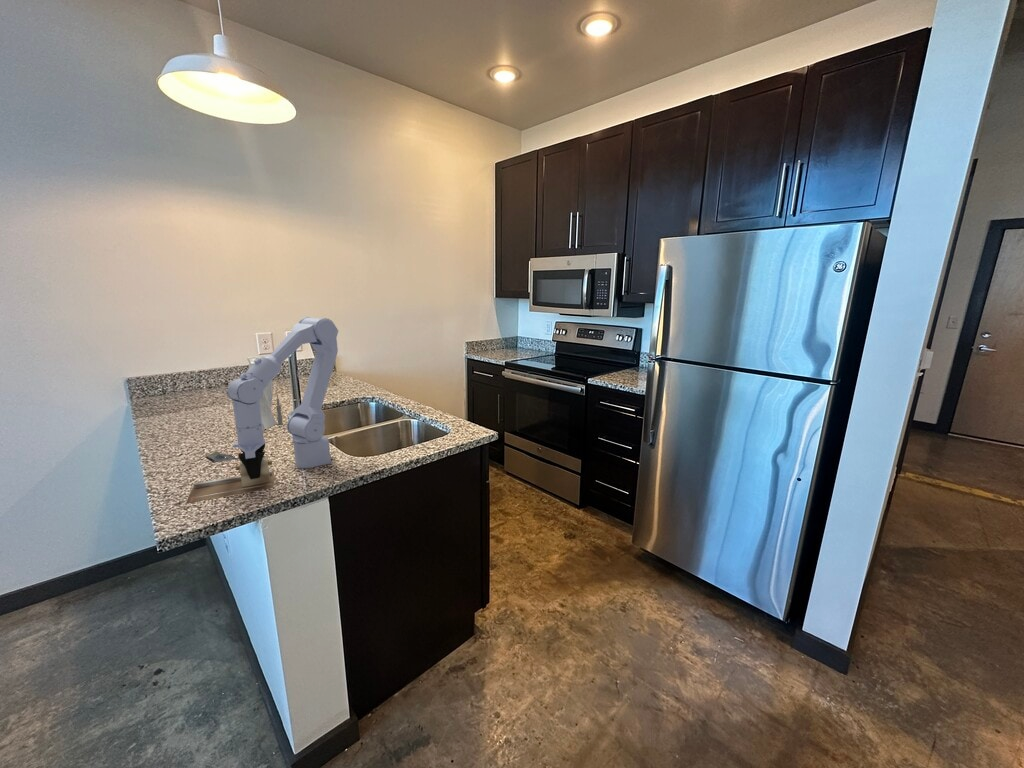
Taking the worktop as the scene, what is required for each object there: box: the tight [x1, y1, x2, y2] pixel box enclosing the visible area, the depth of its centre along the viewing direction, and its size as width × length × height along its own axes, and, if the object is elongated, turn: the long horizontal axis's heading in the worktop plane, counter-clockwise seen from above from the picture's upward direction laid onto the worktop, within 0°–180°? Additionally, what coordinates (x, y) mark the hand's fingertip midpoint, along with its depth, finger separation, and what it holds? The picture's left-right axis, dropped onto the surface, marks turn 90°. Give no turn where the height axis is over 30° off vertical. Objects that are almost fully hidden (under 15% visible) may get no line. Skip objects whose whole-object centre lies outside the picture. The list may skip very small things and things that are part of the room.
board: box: [185, 469, 275, 505], centre depth 106 cm, size 18×12×2 cm, turn 119°
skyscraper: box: [246, 356, 284, 429], centre depth 153 cm, size 8×8×28 cm
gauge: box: [235, 455, 273, 487], centre depth 107 cm, size 8×4×6 cm, turn 119°
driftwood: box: [205, 451, 239, 463], centre depth 124 cm, size 21×7×2 cm, turn 49°
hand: (255, 474), depth 108 cm, fingers closed on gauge, 4 cm apart
